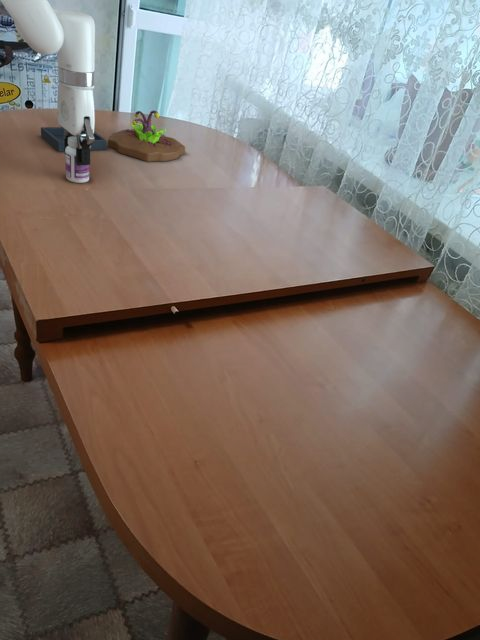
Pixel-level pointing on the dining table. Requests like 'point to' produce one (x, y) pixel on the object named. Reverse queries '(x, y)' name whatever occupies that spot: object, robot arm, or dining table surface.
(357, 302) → the dining table surface
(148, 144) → the plant
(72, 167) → the pill bottle
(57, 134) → the tray
